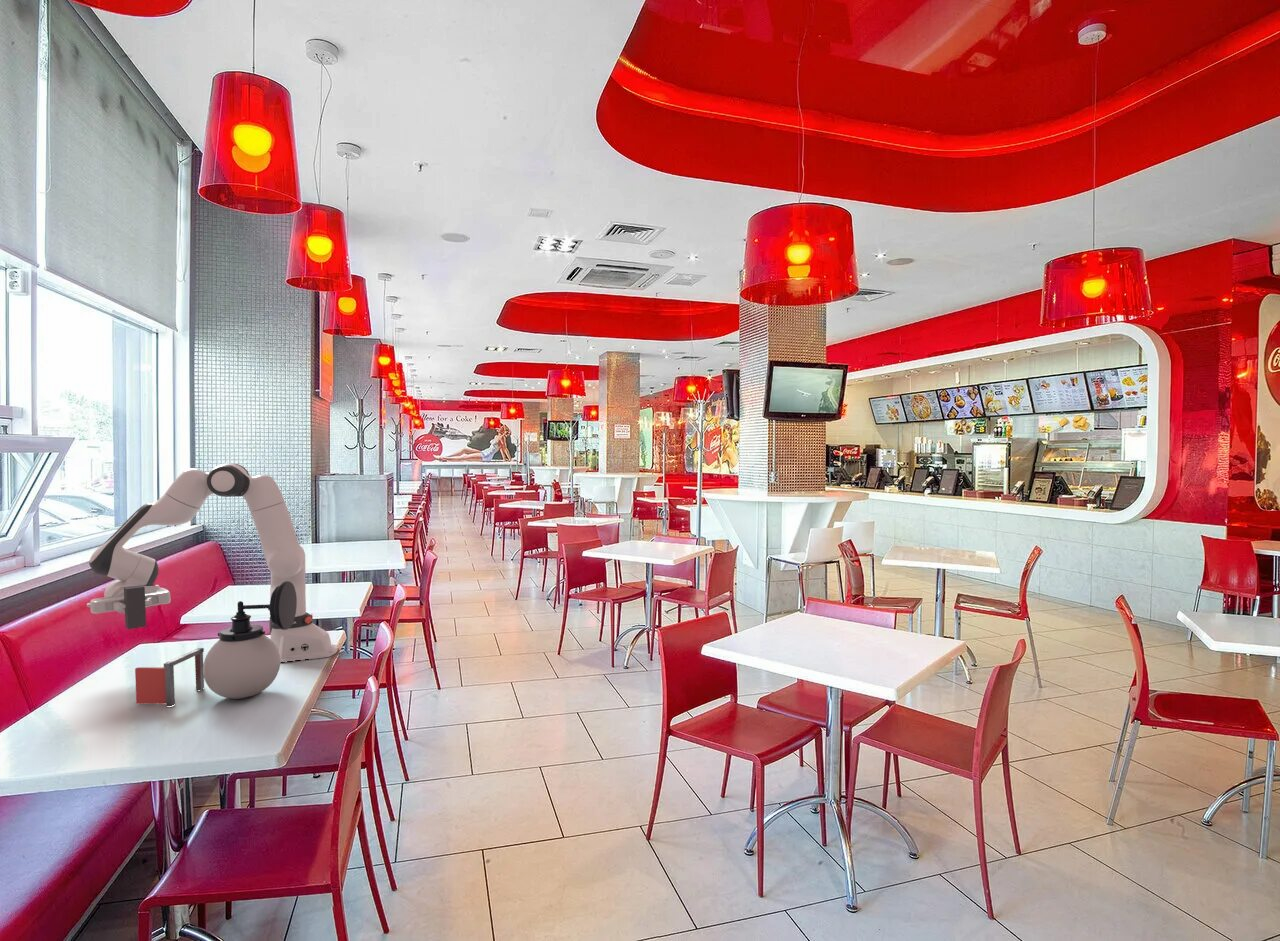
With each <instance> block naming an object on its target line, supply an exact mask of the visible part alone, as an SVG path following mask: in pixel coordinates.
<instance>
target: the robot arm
mask: <svg viewBox="0 0 1280 941" xmlns="http://www.w3.org/2000/svg"><path fill="white" fill-rule="evenodd" d="M211 495H216V496H218V497H222V498H230V497H231V498H233V497H234V498H235V497H237V498H239V497H242V498H243V499H244V500H245V502H246V504H247V506H248V509H249V513H250V515H251V517H252V520H253V523H254V526H255V529H256V531H257V534H258V537H259V541H260V544H261V548H262V552H263V556H264V559H265V561H266V562H265V563H266V565H267V568H268V570H269V571H270V592H269V597H270V598H269V600H270V599H271V595H272V593H273V591H274V590H275V588H276V587H277V586H280V585H281V584H282V583H283V582H285V581H289V582H291V583H292V584H293V585H294V588H295V591H296V597H297V607H296V614H295V618H294V621H293V624H292V626H291V627H290V628H289V629H287V630H282V629H280V628H279V627H278V626H276V625H274V623H273V622H272V620H271V617H270V616H269V619H268V625H269V626H268V627H269V633H270V636H269V637H270V638H269V639H270V640H272V641H273V643H274V644H275V645H276V647H277V649H278V651H279V654H280V663H281V662H285V663H287V662H286V661H293V662H296V661H295V660H301V661H306V660H305V659H309V660H317V659H323V658H329V657H332V656H333V655H335V654H336V653H337V652H338V650H339V647H338V645H337V644H335V643H333V644H332V641H331V636H330V634H329V632H328V631H326V630H325V629H323V628H321V627H320V626H318V625H316V624H314V623H313V621H314V620H313V616H314V615H313V613H311V614H310V613H308V612H307V601H306V597H307V596H306V553H305V549H304V548H303V546H301V544H299V541H298V537H297V535H296V534H297V533H296V531H295V527H294V524H293V521H292V518H291V515H290V513H289V509H288V507H287V504H286V501H285V498H284V496H283V494H282V492H281V489H280V488H279V486H278V485H277V483H276V480H275V479H274V478H273V477H272V476H270V475H267V474H258V475H250V473H249V471H248V470H247V469H246V467H244V466H243V465H240V464H237V463H231V462H230V463H227V462H226V463H221V464H219V465H217V466H214V467H213V468H212V469H211V470H209V471H208V472H206V471H204V470H201V469H199V468H188V469H185V470H184V471H182V472H181V474H179V476H177V477H176V478H175V480H174V481H173V482H172V484H171V485H170V486H169V487H168V488H167V490H166V492H165V493H164V494H163V495H162V496H161V497H160V498H159V499H157V500H156V501H154V502H147V503H145V504H143V505H141V506H140V507H139V508H138V509H137V510H136V511H134V513H132V515H130V516H129V518H128V519H126V521H125V522H124V523H122V525H121V526H120V527H119V528H118V529H117V530H116V531H115V532H114V533H113V534H112V535H111V536H110V537H109V538H108V539H107V540H106V541H105V542H104V543H102V544H101V546H99V547H98V548H97V549H96V550H94V552H93V553H92V555H91V556H90V559H89V561H88V563H89V567H90V570H92V572H93V573H94V574H96V575H98V576H102V577H103V576H104V577H109V578H111V579H115V580H113V581H112V582H110V583H109V584H107V586H106V587H105V590H104V592H103V593H104V594H103V597H96V598H92V599H90V601H89V602H87V603H86V607H87V608H90V613H91V614H103V613H109V612H110V613H111V612H117V613H120V614H125V609H126V603H124V587H129V586H137V585H142V586H144V587H145V608H151V607H155V606H159V605H167V604H170V603H171V592H170V591H169V589H167V588H164V587H160V585H159V584H155V581H156V580H157V578H158V575H159V571H160V570H159V565H158V562H157V560H156V559H155V558H152V557H149V556H147V555H144V554H141V553H139V552H135V551H133V550H130V549H127V548H125V547H124V545H125V544H126V543H127V542H128V541H129V540H130V539H131V538H132V537H133V536H134V535H135V534H136V533H137V532H138V531H139V530H141V529H142V528H144V527H147V526H170V527H171V526H180V525H184V524H187V523H189V522H190V521H192V519H194V517H196V515H197V513H198V512H199V510H200V509H201V508H202V506H203V504H204V503H205V501H206V500H207V499H208V498H209V497H210V496H211Z"/></svg>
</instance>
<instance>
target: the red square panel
mask: <svg viewBox="0 0 1280 941" xmlns="http://www.w3.org/2000/svg"><path fill="white" fill-rule="evenodd" d="M134 672H135V700H136V704H137V705H138V704H140V705H141V704H143V705H145V704H146V705H147V704H152V705H155V704H159V705H160V704H163V705H164V704H166V690H165V668H164V666H162V667H161V666H160V667H158V666H157V667H156V666H155V667H154V666H153V667H152V666H151V667H148V666H147V667H146V666H145V667H136V668H134Z"/></svg>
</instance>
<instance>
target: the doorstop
mask: <svg viewBox="0 0 1280 941" xmlns="http://www.w3.org/2000/svg"><path fill="white" fill-rule="evenodd" d="M124 603H126V609H125V613H124V623H125V629H127V630H131V629H138V628H145V627H147V613H146V608H147V607H146V608H145V587H144V586H142V585H137V586H129V587H124Z"/></svg>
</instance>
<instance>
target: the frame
mask: <svg viewBox="0 0 1280 941" xmlns="http://www.w3.org/2000/svg"><path fill="white" fill-rule="evenodd" d="M204 652H205V648H204V647H197V648H195V649H193V650H191V651H188V652H187V653H184V654H182V655H180V656H178V657H175V658H173V659H170V660H169V661H166V662H165V663H163V667H164V668H165V690H166V703H165V707H166V706H172V705H174V704H175V705H176V703H175V700H176V699H175V698H176V697H175V694H176V693H175V672H174V666H176V665H178V664H181V663H184V662H185V661H187V660H189V659H191V658H193V657H194V668H195V669H194V670H195V691H196V690H202V689H203V688H204V689H205V679H204V675H203V664H204ZM202 691H203V690H202Z"/></svg>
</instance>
